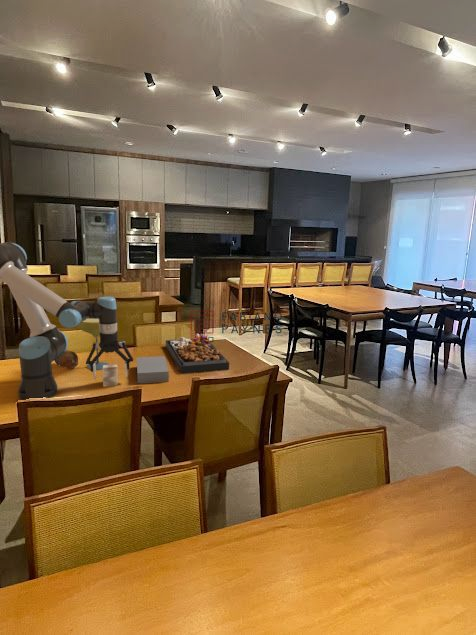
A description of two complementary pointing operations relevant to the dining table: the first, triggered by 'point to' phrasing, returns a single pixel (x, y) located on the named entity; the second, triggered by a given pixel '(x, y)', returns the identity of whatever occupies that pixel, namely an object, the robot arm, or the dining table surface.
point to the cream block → (110, 375)
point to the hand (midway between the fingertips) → (110, 377)
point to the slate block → (152, 369)
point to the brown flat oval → (67, 359)
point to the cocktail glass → (93, 328)
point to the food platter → (196, 355)
